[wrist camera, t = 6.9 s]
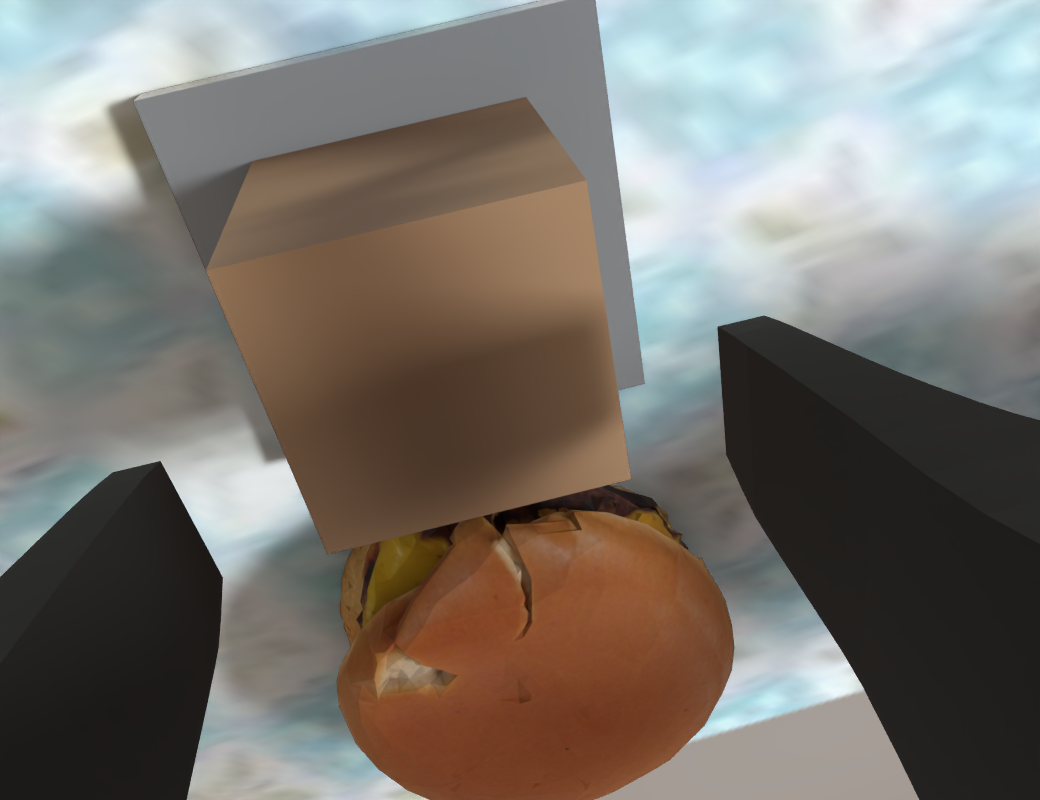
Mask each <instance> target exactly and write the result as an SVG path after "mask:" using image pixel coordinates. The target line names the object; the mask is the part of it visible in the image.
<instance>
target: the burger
mask: <svg viewBox="0 0 1040 800" xmlns="http://www.w3.org/2000/svg"><path fill="white" fill-rule="evenodd" d="M681 536H682V534H680V533H677V532H675V531H674V530H673V529H672V526H671V525H670V523H669V521H668V515H667V514H666V513H665V512H664V511H663V510H662V509H661V508H660V507H659V506H658V505H657V504H656V503H655V502H654V500H653V499H652V498H649V497H646V496H642V495H639V494H636V493H634V492H631V491H629V490H626V489H624V488H621V487H616V486H612V485H606V486H602V487H598V488H594V489H590V490H586V491H582V492H578V493H574V494H570V495H565V496H561V497H557V498H553V499H549V500H545V501H541V502H537V503H533V504H529V505H525V506H521V507H517V508H513V509H509V510H505V511H501V512H497V513H493V514H489V515H485V516H481V517H477V518H473V519H469V520H465V521H461V522H457V523H453V524H449V525H444V526H440V527H436V528H432V529H428V530H424V531H420V532H416V533H412V534H408V535H404V536H400V537H396V538H392V539H388V540H384V541H380V542H376V543H372V544H368V545H364V546H360V547H356V548H354V549H353V551H352V552H351V554H350V556H349V558H348V560H347V562H346V566H345V570H344V573H343V576H342V595H341V602H340V614H341V616H342V618H343V621H344V628H345V631H346V633H347V636H348V639H349V642H350V645H351V647H350V649H349V651H348V653H347V655H346V657H345V659H344V660H343V662H342V664H341V666H340V669H339V673H338V678H337V691H338V700H339V707H340V709H341V711H342V714H343V716H344V718H345V720H346V723H347V725H348V727H349V729H350V732H351V734H352V736H353V738H354V741H355V743H356V744H357V745H358V747H359V748H360V749H361V750H362V751H363V752H364V753H365V754H366V756H367V757H368V758H369V759H370V760H371V761H372V762H373V764H374V765H375V766H376V767H377V768H378V769H379V770H380V771H382V772H383V773H384V774H386V775H387V776H389V777H390V778H391V779H393V780H394V781H395V782H397V783H398V784H400V785H401V786H402V787H404V788H405V789H406V790H408V791H410V792H413V793H415V794H418V795H420V796H422V797H425V798H427V799H429V800H594V799H597V798H600V797H602V796H605V795H607V794H610V793H612V792H614V791H616V790H618V789H620V788H622V787H624V786H625V785H627V784H629V783H631V782H633V781H634V780H636V779H638V778H640V777H642V776H643V775H645V774H647V773H649V772H650V771H652V770H654V769H656V768H658V767H659V766H660V765H662V764H664V763H666V762H667V761H669V760H670V759H671V758H672V757H673V756H674V755H675V754H676V753H677V752H678V751H679V750H680V749H681V748H682V747H683V746H684V745H685V744H686V743H687V742H688V741H689V740H690V739H691V738H692V737H693V736H694V735H695V734H696V733H697V732H698V731H699V730H700V729H701V728H702V727H704V726H705V724H706V722H707V720H708V718H709V717H710V715H711V713H712V711H713V709H714V707H715V706H716V704H717V702H718V700H719V698H720V696H721V695H722V693H723V691H724V688H725V686H726V683H727V681H728V678H729V676H730V673H731V671H732V663H733V655H734V640H733V631H732V624H731V620H730V616H729V613H728V609H727V605H726V601H725V599H724V597H723V595H722V593H721V591H720V589H719V588H718V586H717V584H716V583H715V581H714V580H713V578H712V576H711V575H710V573H709V572H708V570H707V568H706V566H705V564H704V562H703V560H702V558H700V559H698V558H697V557H695V556H694V555H693V554H691V553H690V552H689V551H688V550H687V549H688V547H687V546H686V545H685V544H684V543H683V542H682V541H681V540H680V538H681Z"/></svg>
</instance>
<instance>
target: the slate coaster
mask: <svg viewBox="0 0 1040 800" xmlns="http://www.w3.org/2000/svg"><path fill="white" fill-rule="evenodd" d="M523 97H527V99H528V100H529V102H530V103H531V104H532V106H533V107H534V108H535V110H536V111H537V113H538V114H539V115H540V117H541V118H542V119H543V121H544V122H545V124H546V125H547V126H548V128H549V129H550V131H551V132H552V133H553V135H554V136H555V137H556V139H557V140H558V142H559V143H560V144H561V146H562V147H563V148H564V150H565V151H566V153H567V154H568V155H569V157H570V158H571V159H572V161H573V162H574V164H575V165H576V166H577V168H578V169H579V170H580V172H581V173H582V175H583V176H584V177H585V179H586V180H587V186H588V193H589V200H590V207H591V213H592V220H593V227H594V233H595V240H596V247H597V254H598V260H599V267H600V274H601V280H602V287H603V294H604V301H605V307H606V314H607V321H608V328H609V334H610V341H611V348H612V354H613V361H614V368H615V375H616V381H617V388H618V390H621V389H625V388H630V387H634V386H638V385H642V384H645V382H644V374H643V367H642V359H641V351H640V343H639V336H638V328H637V320H636V312H635V304H634V297H633V289H632V281H631V273H630V266H629V258H628V250H627V242H626V235H625V227H624V219H623V211H622V203H621V196H620V188H619V180H618V172H617V165H616V157H615V149H614V141H613V134H612V126H611V118H610V110H609V102H608V95H607V87H606V79H605V71H604V64H603V56H602V48H601V40H600V33H599V25H598V17H597V9H596V1H595V0H541V1H536V2H532V3H528V4H523V5H519V6H515V7H511V8H506V9H502V10H498V11H493V12H489V13H485V14H481V15H476V16H472V17H468V18H463V19H459V20H455V21H451V22H446V23H442V24H438V25H433V26H429V27H425V28H421V29H416V30H412V31H408V32H403V33H399V34H395V35H391V36H386V37H382V38H378V39H373V40H369V41H365V42H361V43H356V44H352V45H348V46H343V47H339V48H335V49H330V50H326V51H322V52H318V53H313V54H309V55H305V56H300V57H296V58H292V59H288V60H283V61H279V62H275V63H270V64H266V65H262V66H258V67H253V68H249V69H245V70H240V71H236V72H232V73H228V74H223V75H219V76H215V77H210V78H206V79H202V80H198V81H193V82H189V83H185V84H180V85H176V86H172V87H168V88H163V89H159V90H155V91H150V92H146V93H142V94H140V95H139V96H138V97H137V98H136V99H135V100H134V101H133V102H134V104H135V107H136V109H137V111H138V114H139V116H140V118H141V121H142V123H143V125H144V128H145V130H146V132H147V135H148V137H149V139H150V142H151V144H152V146H153V149H154V151H155V153H156V155H157V158H158V160H159V162H160V165H161V167H162V169H163V172H164V174H165V176H166V179H167V181H168V183H169V186H170V188H171V190H172V193H173V195H174V197H175V200H176V202H177V204H178V207H179V209H180V211H181V214H182V216H183V218H184V220H185V223H186V225H187V227H188V230H189V232H190V234H191V237H192V239H193V241H194V244H195V246H196V248H197V251H198V253H199V255H200V258H201V260H202V262H203V265H204V267H205V269H207V267H208V264H209V262H210V260H211V257H212V255H213V253H214V250H215V248H216V246H217V243H218V241H219V239H220V236H221V234H222V231H223V229H224V227H225V224H226V222H227V220H228V217H229V215H230V213H231V210H232V208H233V206H234V203H235V201H236V199H237V196H238V194H239V192H240V189H241V187H242V184H243V182H244V180H245V177H246V175H247V173H248V170H249V168H250V166H251V163H252V161H255V160H259V159H263V158H268V157H272V156H276V155H280V154H285V153H289V152H293V151H298V150H302V149H306V148H310V147H315V146H319V145H323V144H327V143H332V142H336V141H340V140H344V139H349V138H353V137H357V136H361V135H366V134H370V133H374V132H378V131H383V130H387V129H391V128H396V127H400V126H404V125H408V124H413V123H417V122H421V121H425V120H430V119H434V118H438V117H442V116H447V115H451V114H455V113H459V112H464V111H468V110H472V109H476V108H481V107H485V106H489V105H494V104H498V103H502V102H506V101H511V100H515V99H519V98H523Z"/></svg>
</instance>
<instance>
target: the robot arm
mask: <svg viewBox="0 0 1040 800" xmlns="http://www.w3.org/2000/svg"><path fill="white" fill-rule="evenodd" d="M718 341H719V355H720V369H721V384H722V398H723V412H724V427H725V441H726V455H727V457H728V459H729V461H730V464H731V466H732V468H733V470H734V472H735V475H736V477H737V479H738V481H739V484H740V486H741V488H742V490H743V492H744V494H745V496H746V498H747V501H748V503H749V505H750V507H751V509H752V511H753V513H754V515H755V517H756V519H757V520H758V522H759V523H760V525H761V527H762V528H763V530H764V531H765V533H766V535H767V536H768V538H769V539H770V541H771V542H772V544H773V545H774V547H775V549H776V550H777V552H778V553H779V555H780V556H781V558H782V560H783V561H784V563H785V564H786V566H787V567H788V569H789V570H790V572H791V573H792V575H793V577H794V578H795V580H796V581H797V583H798V584H799V586H800V587H801V589H802V590H803V592H804V593H805V595H806V597H807V598H808V600H809V601H810V603H811V604H812V606H813V607H814V609H815V610H816V612H817V613H818V615H819V616H820V618H821V620H822V621H823V623H824V624H825V626H826V627H827V629H828V630H829V632H830V633H831V635H832V636H833V638H834V640H835V641H836V643H837V644H838V646H839V647H840V649H841V650H842V652H843V654H844V655H845V657H846V659H847V660H848V662H849V664H850V665H851V667H852V669H853V671H854V672H855V674H856V676H857V677H858V679H859V681H860V682H861V684H862V686H863V688H864V690H865V692H866V694H867V696H868V697H869V700H870V702H871V704H872V706H873V708H874V710H875V711H876V713H877V715H878V717H879V719H880V721H881V723H882V725H883V727H884V729H885V731H886V733H887V735H888V737H889V739H890V741H891V742H892V745H893V747H894V749H895V751H896V753H897V754H898V757H899V759H900V761H901V763H902V765H903V767H904V769H905V771H906V773H907V775H908V777H909V779H910V781H911V783H912V785H913V788H914V790H915V792H916V794H917V796H918V798H919V800H1040V420H1036V419H1032V418H1029V417H1025V416H1022V415H1018V414H1015V413H1011V412H1008V411H1005V410H1002V409H999V408H996V407H992V406H989V405H986V404H983V403H980V402H977V401H975V400H972V399H969V398H966V397H963V396H961V395H958V394H955V393H952V392H949V391H947V390H944V389H941V388H938V387H935V386H933V385H930V384H927V383H925V382H922V381H920V380H917V379H914V378H912V377H909V376H907V375H904V374H902V373H899V372H897V371H894V370H892V369H890V368H887V367H885V366H882V365H880V364H878V363H875V362H873V361H870V360H868V359H866V358H863V357H861V356H859V355H856V354H854V353H852V352H850V351H847V350H845V349H843V348H840V347H838V346H836V345H834V344H831V343H829V342H827V341H825V340H822V339H820V338H818V337H816V336H813V335H811V334H809V333H807V332H804V331H802V330H800V329H797V328H795V327H793V326H790V325H788V324H786V323H783V322H781V321H778V320H775V319H773V318H770V317H767V316H760V317H756V318H752V319H748V320H744V321H740V322H736V323H731V324H727V325H723V326H719V327H718ZM222 583H223V577H222V575H221V573H220V571H219V570H218V568H217V566H216V564H215V562H214V560H213V558H212V556H211V555H210V553H209V551H208V549H207V547H206V545H205V543H204V542H203V540H202V538H201V536H200V534H199V532H198V530H197V528H196V527H195V525H194V523H193V521H192V519H191V517H190V515H189V513H188V512H187V510H186V508H185V506H184V504H183V502H182V500H181V499H180V497H179V495H178V493H177V491H176V489H175V487H174V485H173V484H172V482H171V480H170V478H169V476H168V474H167V472H166V470H165V469H164V467H163V465H162V463H161V461H159V462H155V463H150V464H146V465H142V466H138V467H134V468H130V469H125V470H121V471H117V472H113V473H112V474H110V475H109V476H108V477H107V478H105V479H104V480H103V481H101V482H100V483H99V484H98V485H97V486H95V487H94V488H93V489H92V490H91V491H90V492H89V493H88V494H86V495H85V496H84V497H83V498H82V499H81V500H80V501H79V502H78V503H77V504H76V505H75V506H73V507H72V508H71V509H70V510H69V511H68V512H67V513H66V514H65V515H64V516H63V517H62V518H61V519H60V520H59V521H58V522H57V523H56V524H55V525H54V526H53V527H52V528H51V529H49V530H48V531H47V532H46V533H45V534H44V535H43V536H42V537H41V538H40V539H39V540H38V541H37V542H36V543H35V544H34V545H33V546H32V547H31V548H30V549H29V550H28V551H27V552H26V553H25V554H24V555H23V556H22V557H21V558H19V559H18V560H17V561H16V562H15V563H14V564H13V565H12V566H11V567H10V568H9V569H8V570H7V571H6V572H5V573H4V574H3V575H2V576H1V577H0V800H186V799H187V795H188V790H189V786H190V781H191V776H192V772H193V767H194V763H195V758H196V753H197V749H198V744H199V740H200V735H201V730H202V726H203V721H204V717H205V712H206V707H207V703H208V698H209V693H210V688H211V683H212V679H213V674H214V669H215V664H216V659H217V653H218V648H219V636H220V623H221V606H222Z"/></svg>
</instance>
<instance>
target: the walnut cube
mask: <svg viewBox="0 0 1040 800" xmlns="http://www.w3.org/2000/svg"><path fill="white" fill-rule="evenodd" d="M206 273H207V275H208V277H209V280H210V282H211V284H212V287H213V289H214V291H215V294H216V296H217V298H218V301H219V303H220V305H221V308H222V310H223V312H224V315H225V317H226V319H227V322H228V324H229V326H230V329H231V331H232V333H233V336H234V338H235V340H236V343H237V345H238V347H239V349H240V352H241V354H242V356H243V359H244V361H245V363H246V366H247V368H248V370H249V373H250V375H251V377H252V380H253V382H254V384H255V387H256V389H257V391H258V394H259V396H260V398H261V401H262V403H263V405H264V408H265V410H266V412H267V415H268V417H269V419H270V422H271V424H272V426H273V429H274V431H275V433H276V436H277V438H278V440H279V443H280V445H281V447H282V450H283V452H284V454H285V457H286V459H287V461H288V464H289V466H290V468H291V471H292V473H293V475H294V477H295V480H296V482H297V484H298V487H299V489H300V491H301V494H302V496H303V498H304V501H305V503H306V505H307V508H308V510H309V512H310V515H311V517H312V519H313V522H314V524H315V526H316V529H317V531H318V533H319V536H320V538H321V540H322V543H323V545H324V547H325V550H326V552H327V554H332V553H336V552H340V551H344V550H348V549H352V548H356V547H360V546H364V545H368V544H372V543H376V542H380V541H384V540H388V539H392V538H396V537H400V536H404V535H408V534H412V533H416V532H420V531H424V530H428V529H432V528H436V527H440V526H444V525H449V524H453V523H457V522H461V521H465V520H469V519H473V518H477V517H481V516H485V515H489V514H493V513H497V512H501V511H505V510H509V509H513V508H517V507H521V506H525V505H529V504H533V503H537V502H541V501H545V500H549V499H553V498H557V497H561V496H565V495H570V494H574V493H578V492H582V491H586V490H590V489H594V488H598V487H602V486H606V485H610V484H614V483H618V482H622V481H626V480H630V479H631V475H630V469H629V462H628V455H627V448H626V442H625V435H624V428H623V422H622V415H621V408H620V401H619V395H618V388H617V381H616V375H615V368H614V361H613V354H612V348H611V341H610V334H609V328H608V321H607V314H606V307H605V301H604V294H603V287H602V280H601V274H600V267H599V260H598V254H597V247H596V240H595V233H594V227H593V220H592V213H591V207H590V200H589V193H588V186H587V180H586V179H585V177H584V176H583V175H582V173H581V172H580V170H579V169H578V168H577V166H576V165H575V164H574V162H573V161H572V159H571V158H570V157H569V155H568V154H567V153H566V151H565V150H564V148H563V147H562V146H561V144H560V143H559V142H558V140H557V139H556V137H555V136H554V135H553V133H552V132H551V131H550V129H549V128H548V126H547V125H546V124H545V122H544V121H543V119H542V118H541V117H540V115H539V114H538V113H537V111H536V110H535V108H534V107H533V106H532V104H531V103H530V102H529V100H528V99H527V97H523V98H519V99H515V100H511V101H506V102H502V103H498V104H494V105H489V106H485V107H481V108H476V109H472V110H468V111H464V112H459V113H455V114H451V115H447V116H442V117H438V118H434V119H430V120H425V121H421V122H417V123H413V124H408V125H404V126H400V127H396V128H391V129H387V130H383V131H378V132H374V133H370V134H366V135H361V136H357V137H353V138H349V139H344V140H340V141H336V142H332V143H327V144H323V145H319V146H315V147H310V148H306V149H302V150H298V151H293V152H289V153H285V154H280V155H276V156H272V157H268V158H263V159H259V160H255V161H252V163H251V166H250V168H249V170H248V173H247V175H246V177H245V180H244V182H243V184H242V187H241V189H240V192H239V194H238V196H237V199H236V201H235V203H234V206H233V208H232V210H231V213H230V215H229V217H228V220H227V222H226V224H225V227H224V229H223V231H222V234H221V236H220V239H219V241H218V243H217V246H216V248H215V250H214V253H213V255H212V257H211V260H210V262H209V264H208V267H207V269H206Z"/></svg>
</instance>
